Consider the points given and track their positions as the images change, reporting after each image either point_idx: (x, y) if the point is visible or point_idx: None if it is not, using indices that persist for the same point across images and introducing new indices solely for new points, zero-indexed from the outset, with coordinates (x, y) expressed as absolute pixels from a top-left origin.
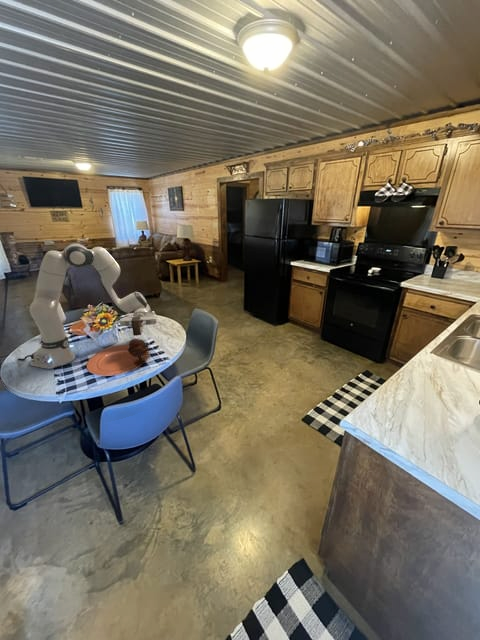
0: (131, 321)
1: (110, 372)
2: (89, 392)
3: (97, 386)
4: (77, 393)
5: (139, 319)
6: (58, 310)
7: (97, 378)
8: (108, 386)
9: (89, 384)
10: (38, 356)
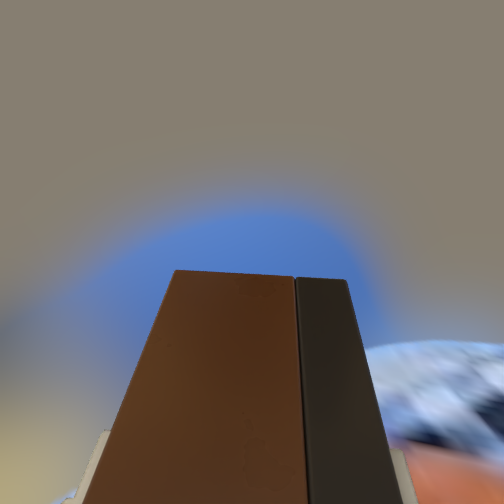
0: (334, 285)
1: (445, 488)
2: (444, 342)
3: (435, 371)
4: (497, 347)
5: (146, 359)
6: None
7: (490, 438)
8: (378, 361)
9: (493, 394)
10: None
